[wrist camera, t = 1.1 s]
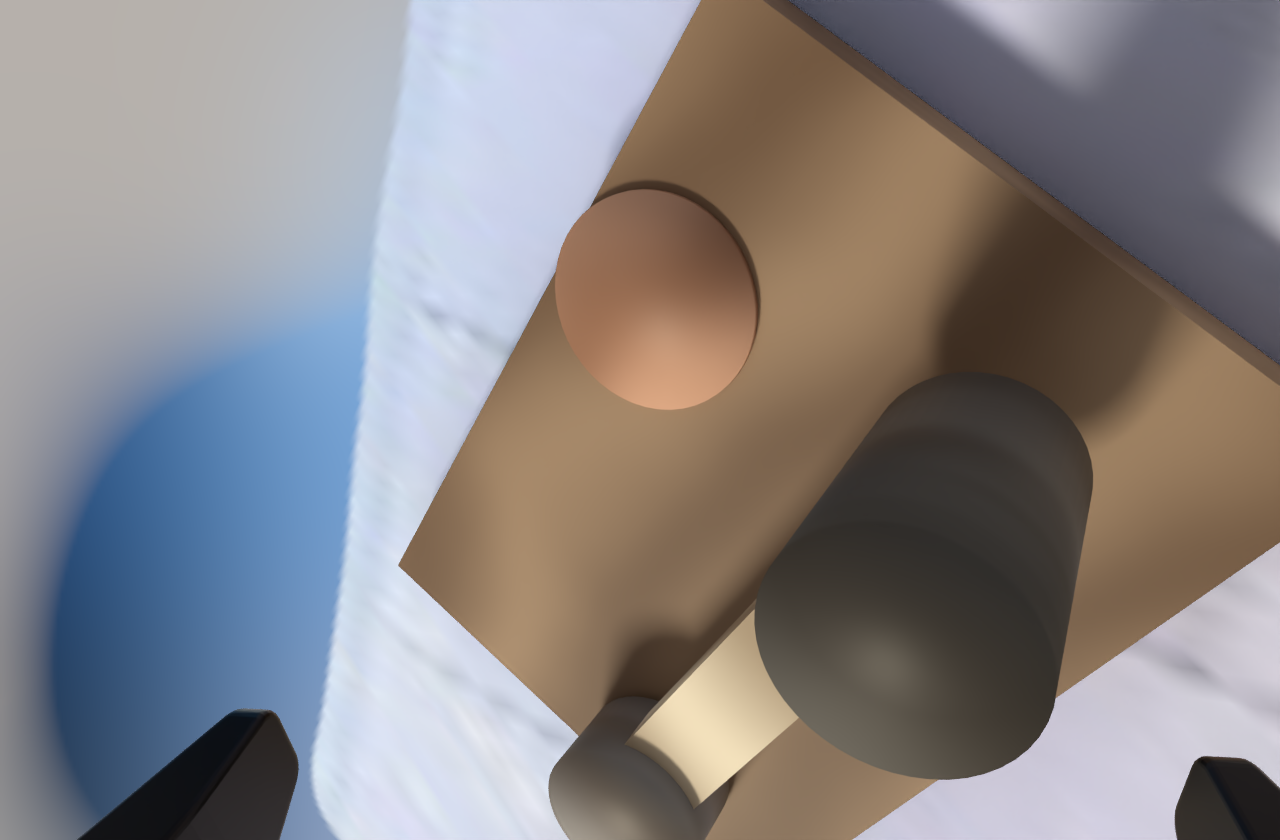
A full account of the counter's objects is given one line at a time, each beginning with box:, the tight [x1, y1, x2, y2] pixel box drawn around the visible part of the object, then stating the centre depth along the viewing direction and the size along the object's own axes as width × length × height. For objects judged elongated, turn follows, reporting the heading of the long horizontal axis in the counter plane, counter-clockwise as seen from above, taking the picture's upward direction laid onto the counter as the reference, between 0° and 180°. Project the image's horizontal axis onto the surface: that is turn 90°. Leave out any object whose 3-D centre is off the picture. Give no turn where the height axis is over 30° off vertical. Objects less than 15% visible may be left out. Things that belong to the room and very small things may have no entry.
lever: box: [548, 372, 1093, 840], centre depth 19 cm, size 18×4×8 cm, turn 148°
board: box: [398, 0, 1280, 840], centre depth 23 cm, size 15×20×2 cm
